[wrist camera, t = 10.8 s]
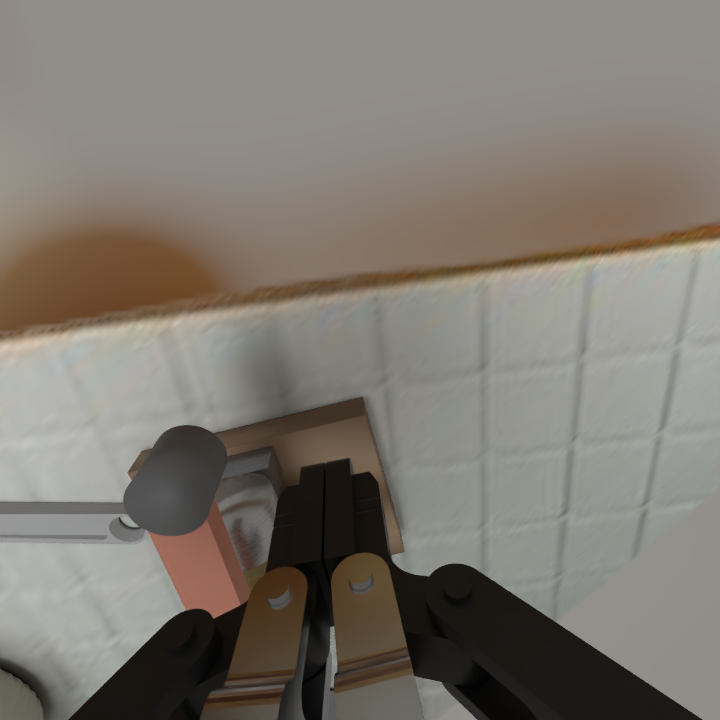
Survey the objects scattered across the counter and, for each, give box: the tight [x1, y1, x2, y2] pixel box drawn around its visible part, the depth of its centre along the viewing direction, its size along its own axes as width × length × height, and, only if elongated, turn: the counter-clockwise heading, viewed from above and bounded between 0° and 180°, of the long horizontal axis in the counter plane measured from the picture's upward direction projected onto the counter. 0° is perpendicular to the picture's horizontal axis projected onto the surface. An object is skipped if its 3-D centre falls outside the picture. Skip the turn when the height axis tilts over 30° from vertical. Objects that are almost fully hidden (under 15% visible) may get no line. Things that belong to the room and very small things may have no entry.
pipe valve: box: [215, 445, 284, 593], centre depth 23 cm, size 10×5×8 cm, turn 14°
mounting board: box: [128, 397, 404, 555], centre depth 27 cm, size 11×14×2 cm
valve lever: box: [123, 425, 250, 619], centre depth 17 cm, size 3×13×3 cm, turn 8°
